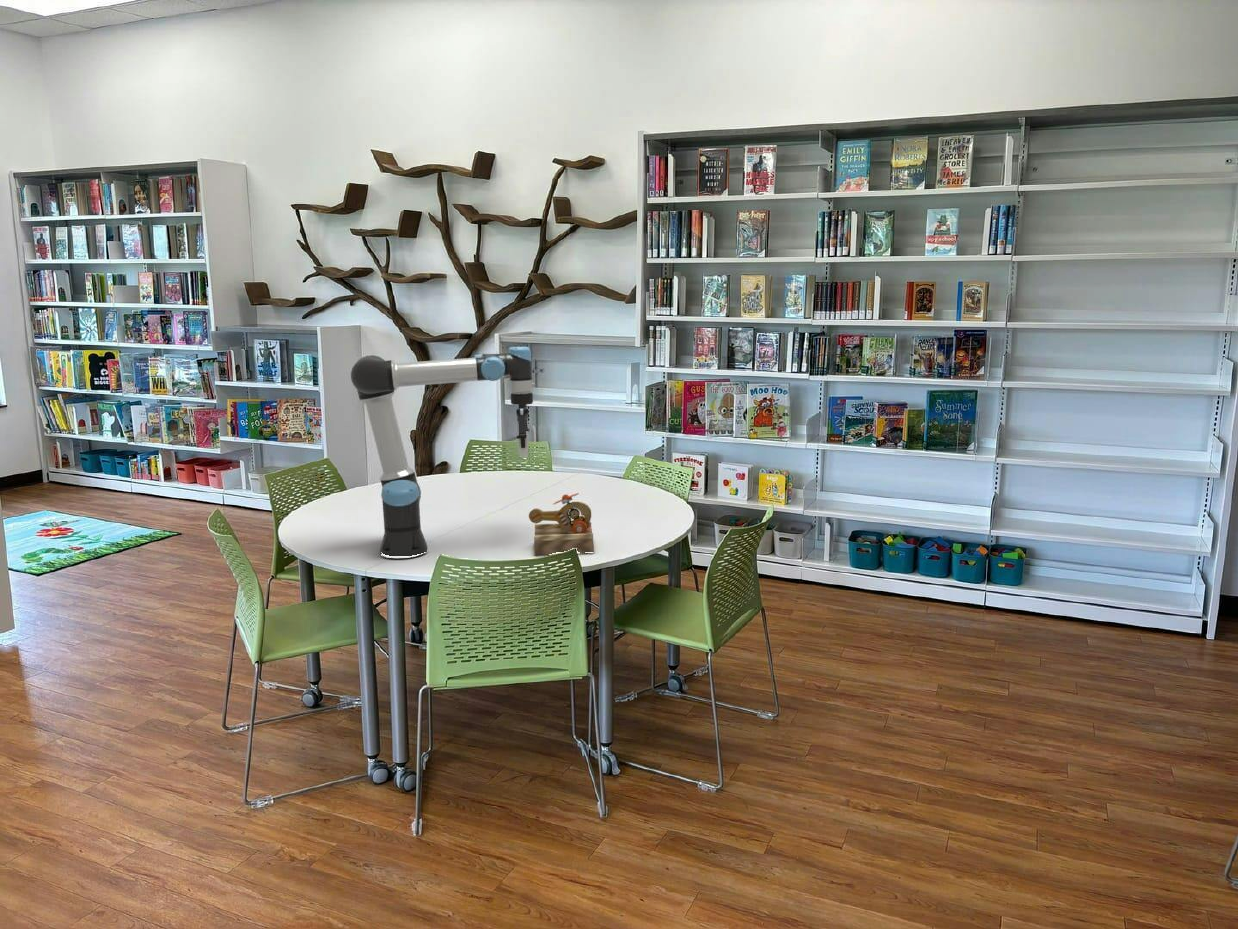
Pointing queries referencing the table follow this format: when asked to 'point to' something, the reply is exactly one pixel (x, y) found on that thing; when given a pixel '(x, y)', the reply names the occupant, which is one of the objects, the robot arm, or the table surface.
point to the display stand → (560, 540)
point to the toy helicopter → (566, 516)
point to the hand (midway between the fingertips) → (524, 453)
